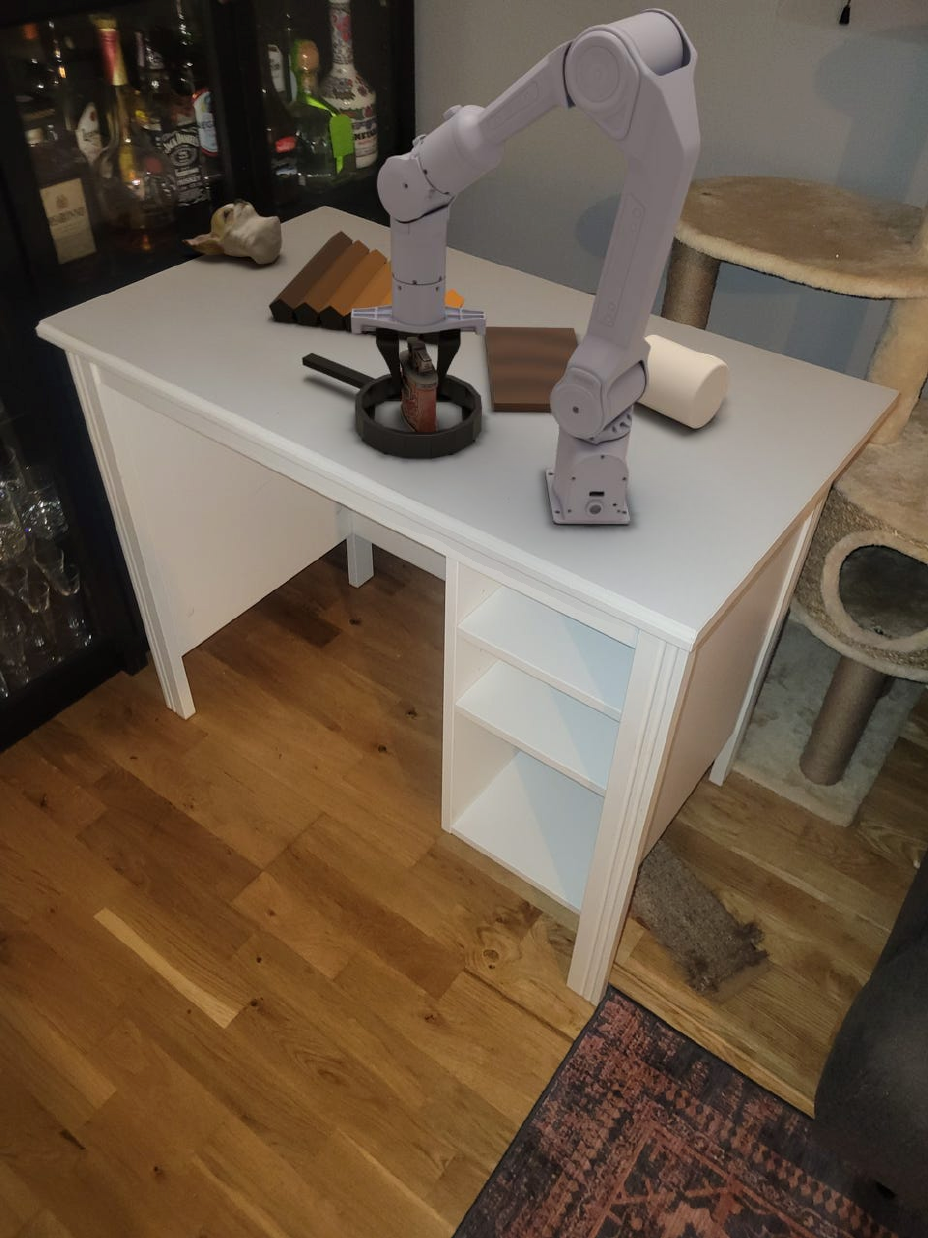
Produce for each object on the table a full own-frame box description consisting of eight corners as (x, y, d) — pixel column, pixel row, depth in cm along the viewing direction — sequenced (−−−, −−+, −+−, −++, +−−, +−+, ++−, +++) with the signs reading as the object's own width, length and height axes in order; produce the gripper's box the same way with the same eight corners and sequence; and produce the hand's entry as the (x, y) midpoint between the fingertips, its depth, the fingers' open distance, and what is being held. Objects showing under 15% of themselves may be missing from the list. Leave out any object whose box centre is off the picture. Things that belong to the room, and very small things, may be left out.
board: (592, 412, 115) (593, 403, 114) (493, 411, 115) (493, 402, 114) (572, 335, 130) (573, 327, 129) (485, 334, 129) (485, 326, 129)
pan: (483, 458, 107) (484, 435, 105) (289, 457, 106) (287, 433, 104) (476, 376, 121) (477, 354, 119) (305, 374, 120) (303, 352, 118)
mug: (684, 438, 112) (698, 377, 106) (616, 406, 116) (626, 346, 111) (739, 403, 118) (755, 343, 113) (673, 374, 123) (685, 315, 118)
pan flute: (331, 251, 148) (270, 320, 130) (330, 229, 146) (267, 296, 128) (487, 271, 144) (446, 345, 127) (488, 249, 142) (446, 321, 124)
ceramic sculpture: (253, 216, 134) (171, 202, 140) (263, 277, 140) (183, 261, 145) (297, 194, 141) (217, 182, 147) (304, 253, 147) (227, 239, 152)
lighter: (395, 408, 114) (393, 330, 108) (422, 404, 115) (422, 327, 108) (415, 443, 109) (414, 363, 102) (443, 439, 110) (444, 359, 103)
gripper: (485, 259, 103) (480, 373, 112) (351, 257, 102) (357, 371, 112) (489, 287, 98) (483, 404, 107) (347, 284, 97) (353, 402, 106)
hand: (418, 389), depth 109 cm, fingers closed on lighter, 4 cm apart
